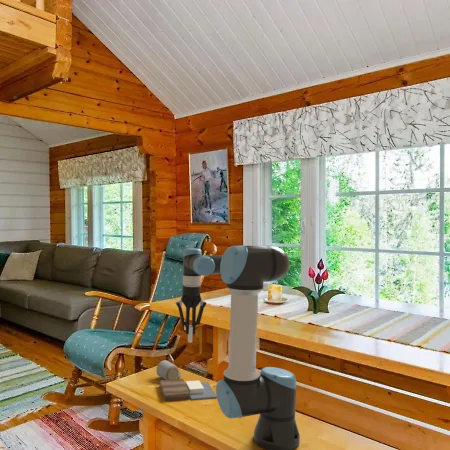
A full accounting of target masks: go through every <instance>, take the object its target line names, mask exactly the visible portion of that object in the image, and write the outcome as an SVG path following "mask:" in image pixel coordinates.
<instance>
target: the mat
mask: <svg viewBox="0 0 450 450" xmlns="http://www.w3.org/2000/svg"><path fill="white" fill-rule="evenodd" d="M201 384H202V386H203V387H204V393H199V394H190V400H191V401H196V400H197V401H200V400H210V399H217V395H216V392H215V391H214V390H213V388H212V386H211V385H210V383H209V381H208V382H207V381H205V382H204V381H203V382H201Z"/></svg>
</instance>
